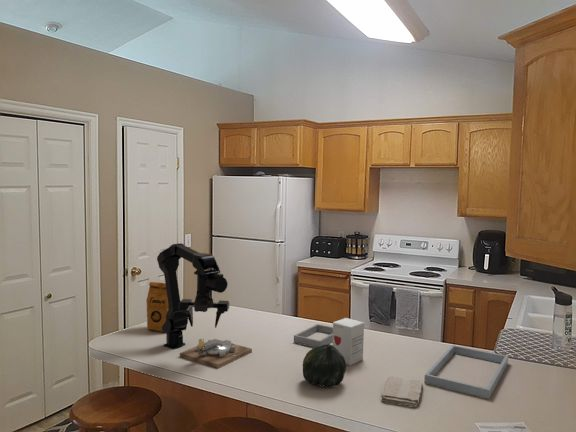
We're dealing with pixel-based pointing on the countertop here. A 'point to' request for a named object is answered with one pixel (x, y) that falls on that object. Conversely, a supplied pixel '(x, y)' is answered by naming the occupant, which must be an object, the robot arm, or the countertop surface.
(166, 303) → the coffee package
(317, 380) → the squash
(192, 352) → the walnut base
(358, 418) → the countertop surface
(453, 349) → the slate carton frame
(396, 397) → the washcloth
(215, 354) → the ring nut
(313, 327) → the grey frame
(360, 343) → the supplement box
